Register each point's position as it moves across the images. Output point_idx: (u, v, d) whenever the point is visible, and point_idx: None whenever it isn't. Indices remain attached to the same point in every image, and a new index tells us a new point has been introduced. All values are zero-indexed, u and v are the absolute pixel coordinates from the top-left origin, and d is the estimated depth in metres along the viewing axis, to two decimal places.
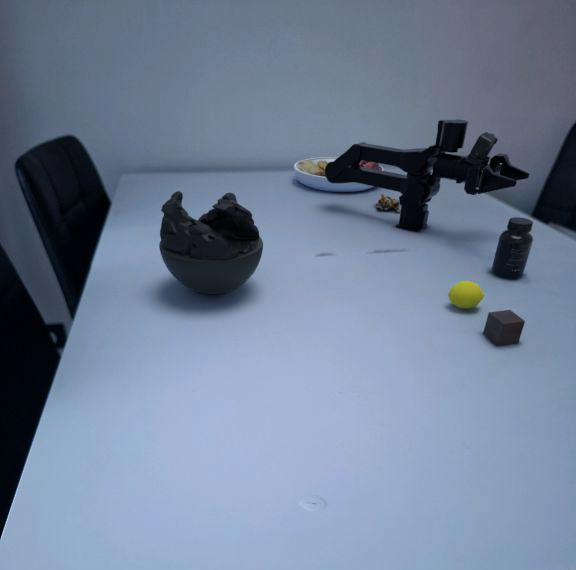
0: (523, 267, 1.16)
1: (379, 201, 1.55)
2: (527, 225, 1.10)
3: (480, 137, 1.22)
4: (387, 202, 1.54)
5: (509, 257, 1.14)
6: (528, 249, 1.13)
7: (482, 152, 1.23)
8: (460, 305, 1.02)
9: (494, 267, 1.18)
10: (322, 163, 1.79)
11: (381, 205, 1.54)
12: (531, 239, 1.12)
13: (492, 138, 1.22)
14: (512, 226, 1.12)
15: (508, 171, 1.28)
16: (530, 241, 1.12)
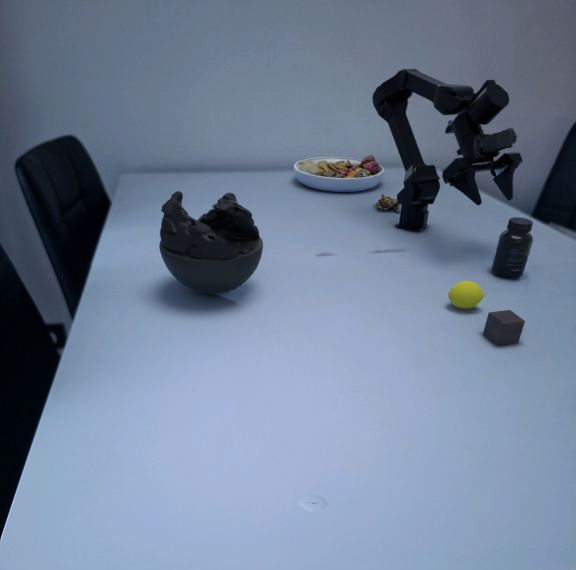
0: (523, 267, 1.16)
1: (379, 201, 1.55)
2: (527, 225, 1.10)
3: (494, 135, 1.10)
4: (387, 202, 1.54)
5: (509, 257, 1.14)
6: (528, 249, 1.13)
7: (486, 149, 1.13)
8: (460, 305, 1.02)
9: (494, 267, 1.18)
10: (322, 163, 1.79)
11: (381, 205, 1.54)
12: (531, 239, 1.12)
13: (504, 144, 1.11)
14: (512, 226, 1.12)
15: (504, 179, 1.19)
16: (530, 241, 1.12)
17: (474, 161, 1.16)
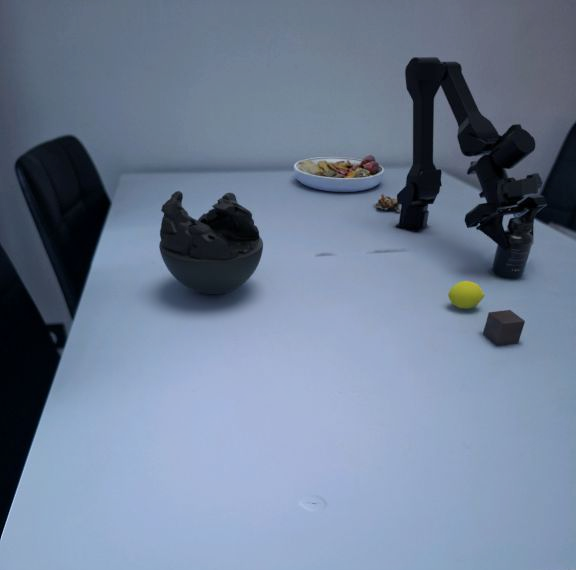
0: (523, 267, 1.16)
1: (379, 201, 1.55)
2: (527, 225, 1.10)
3: (520, 181, 1.07)
4: (387, 202, 1.54)
5: (509, 257, 1.14)
6: (528, 249, 1.13)
7: (511, 195, 1.10)
8: (460, 305, 1.02)
9: (494, 267, 1.18)
10: (322, 163, 1.79)
11: (381, 205, 1.54)
12: (531, 239, 1.12)
13: (530, 190, 1.08)
14: (512, 226, 1.12)
15: None
16: (530, 241, 1.12)
17: (498, 205, 1.13)
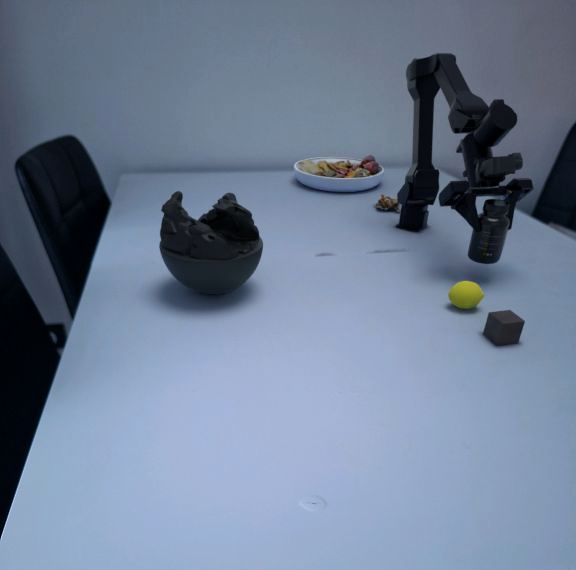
0: (497, 252, 1.10)
1: (379, 201, 1.55)
2: (500, 207, 1.05)
3: (494, 159, 1.02)
4: (387, 202, 1.54)
5: (481, 240, 1.09)
6: (502, 233, 1.07)
7: (486, 173, 1.05)
8: (460, 305, 1.02)
9: (468, 250, 1.13)
10: (322, 163, 1.79)
11: (381, 205, 1.54)
12: (505, 222, 1.06)
13: (504, 169, 1.02)
14: (486, 207, 1.07)
15: None
16: (504, 224, 1.06)
17: (475, 185, 1.09)
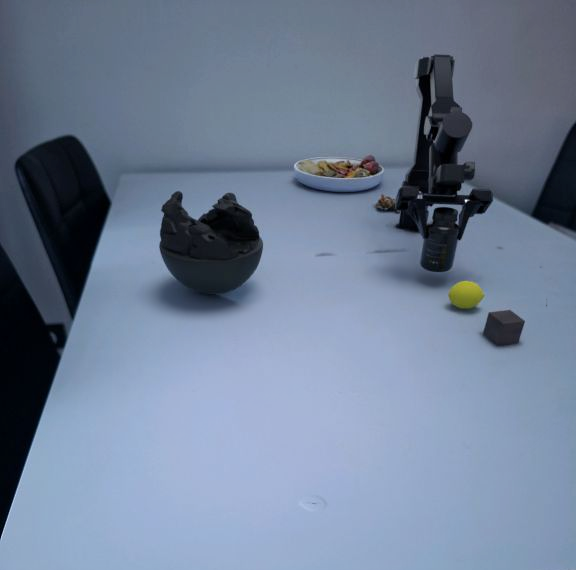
0: (444, 261, 1.09)
1: (379, 201, 1.55)
2: (445, 215, 1.04)
3: (441, 166, 1.02)
4: (387, 202, 1.54)
5: (427, 247, 1.09)
6: (447, 242, 1.06)
7: (436, 181, 1.05)
8: (460, 305, 1.02)
9: None
10: (322, 163, 1.79)
11: (381, 205, 1.54)
12: (451, 231, 1.05)
13: (450, 178, 1.02)
14: (433, 214, 1.06)
15: (461, 216, 1.08)
16: (448, 233, 1.05)
17: (431, 192, 1.09)
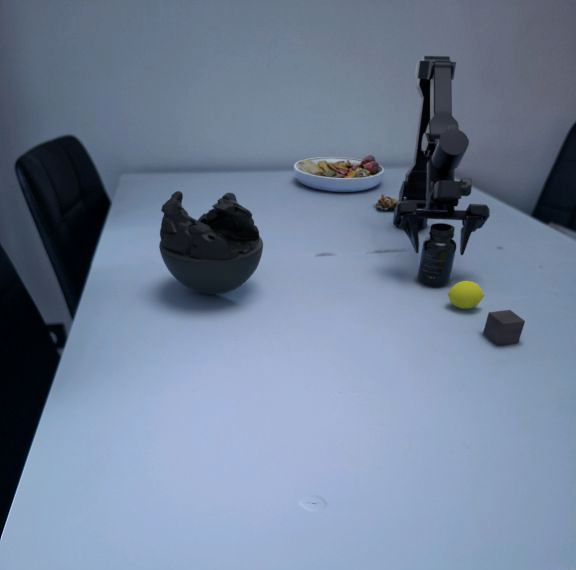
0: (441, 276, 1.10)
1: (379, 201, 1.55)
2: (442, 231, 1.06)
3: (438, 183, 1.04)
4: (387, 202, 1.54)
5: (424, 262, 1.10)
6: (444, 257, 1.08)
7: (434, 196, 1.06)
8: (460, 305, 1.02)
9: (418, 271, 1.15)
10: (322, 163, 1.79)
11: (381, 205, 1.54)
12: (448, 247, 1.07)
13: (447, 194, 1.03)
14: (430, 230, 1.08)
15: (463, 231, 1.10)
16: (445, 249, 1.07)
17: (428, 207, 1.10)
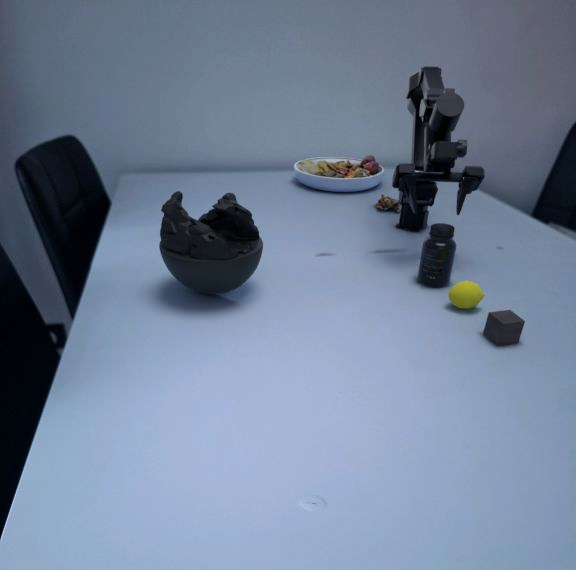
0: (441, 276, 1.10)
1: (379, 201, 1.55)
2: (442, 231, 1.06)
3: (435, 144, 1.08)
4: (387, 202, 1.54)
5: (424, 262, 1.10)
6: (444, 257, 1.08)
7: (431, 158, 1.11)
8: (460, 305, 1.02)
9: (418, 271, 1.15)
10: (322, 163, 1.79)
11: (381, 205, 1.54)
12: (448, 247, 1.07)
13: (444, 154, 1.08)
14: (430, 230, 1.08)
15: (460, 192, 1.15)
16: (445, 249, 1.07)
17: (426, 169, 1.15)
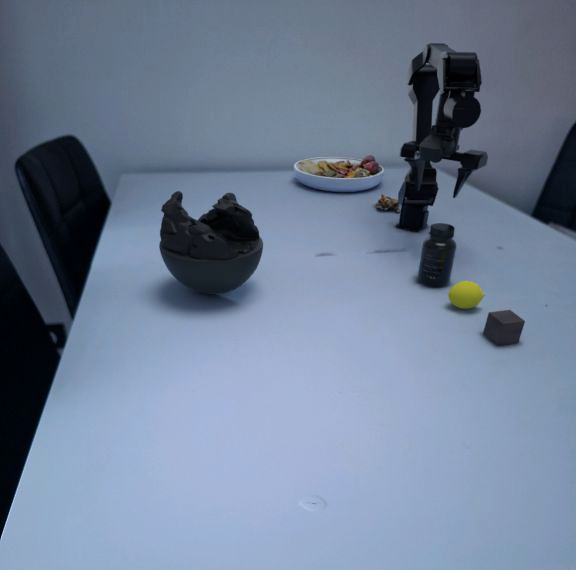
0: (441, 276, 1.10)
1: (379, 201, 1.55)
2: (442, 231, 1.06)
3: (419, 146, 1.13)
4: (387, 202, 1.54)
5: (424, 262, 1.10)
6: (444, 257, 1.08)
7: None
8: (460, 305, 1.02)
9: (418, 271, 1.15)
10: (322, 163, 1.79)
11: (381, 205, 1.54)
12: (448, 247, 1.07)
13: (425, 158, 1.14)
14: (430, 230, 1.08)
15: None
16: (445, 249, 1.07)
17: None
